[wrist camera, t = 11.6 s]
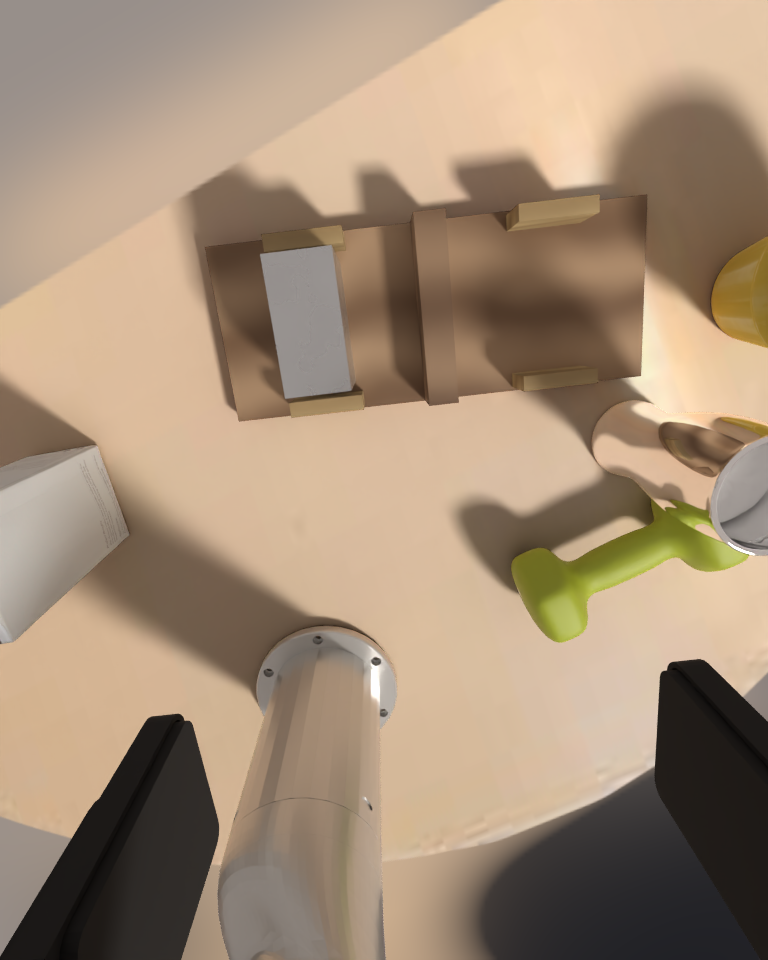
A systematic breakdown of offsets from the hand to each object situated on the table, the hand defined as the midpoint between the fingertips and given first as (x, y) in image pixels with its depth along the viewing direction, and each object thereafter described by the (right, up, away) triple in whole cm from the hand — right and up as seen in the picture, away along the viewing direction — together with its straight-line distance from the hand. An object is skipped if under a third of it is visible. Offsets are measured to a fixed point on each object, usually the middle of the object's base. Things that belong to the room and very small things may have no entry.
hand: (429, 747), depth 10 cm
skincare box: (-25, +4, +30) cm, 39 cm away
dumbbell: (+18, 0, +32) cm, 37 cm away
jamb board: (+2, +17, +27) cm, 32 cm away
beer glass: (+19, +9, +30) cm, 36 cm away
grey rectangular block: (-5, +16, +25) cm, 30 cm away
